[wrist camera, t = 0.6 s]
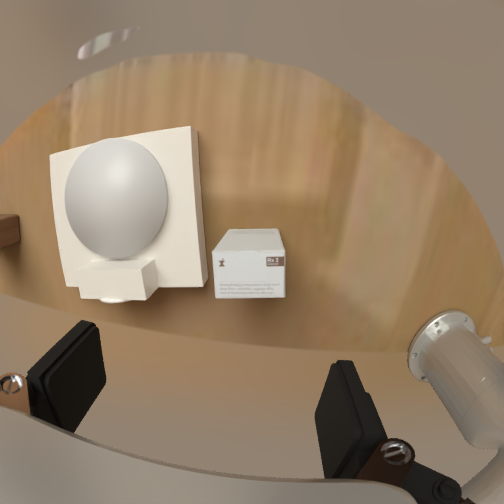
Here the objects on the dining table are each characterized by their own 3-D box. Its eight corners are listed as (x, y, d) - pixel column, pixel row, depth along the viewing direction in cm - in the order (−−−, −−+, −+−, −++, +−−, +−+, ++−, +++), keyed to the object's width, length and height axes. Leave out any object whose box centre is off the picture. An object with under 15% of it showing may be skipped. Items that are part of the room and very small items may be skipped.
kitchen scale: (197, 130, 33) (178, 119, 26) (208, 281, 38) (194, 306, 30) (63, 155, 35) (28, 154, 27) (79, 282, 39) (49, 301, 32)
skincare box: (230, 262, 37) (211, 303, 25) (228, 226, 36) (207, 251, 24) (281, 262, 36) (285, 303, 25) (280, 225, 35) (285, 250, 24)
